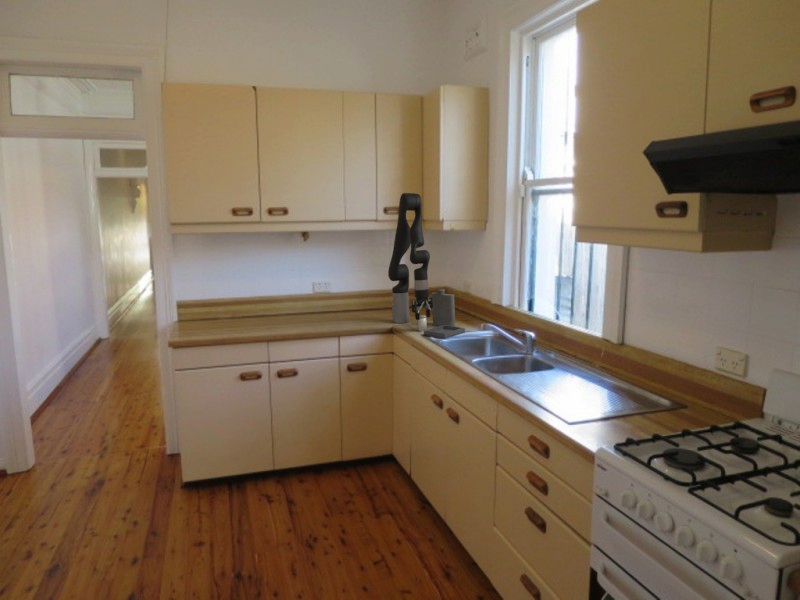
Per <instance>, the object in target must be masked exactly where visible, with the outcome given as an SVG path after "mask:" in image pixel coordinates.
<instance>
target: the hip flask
mask: <svg viewBox="0 0 800 600" xmlns="http://www.w3.org/2000/svg"><path fill="white" fill-rule="evenodd" d="M431 298H432V302H433V308H432V309H431V312H432V313H431V314H432V315H431V316H432V325H435V326H441V325H448V326H455V327H456V315H455V314H456V313H455V312H456V308H455V294H453V293H452V294H450V293H446V289H444V288H443V289H438V291H437V292H431Z"/></svg>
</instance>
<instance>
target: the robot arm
mask: <svg viewBox="0 0 800 600" xmlns="http://www.w3.org/2000/svg"><path fill="white" fill-rule="evenodd" d="M422 202H423V201H422V197H421V195H420V194H419V193H414V192H413V193H411V192H404V193H401V195H400V197H399V204H398V215H397V224H396V229H395V235H394V242H393V243H394V244H393V250H392V254H391V257H390V262H389V265H388V266H389V267H388V271H387V274H388V278H389V280H390V281H391V282H398V283H397V284H396V285H395V286H393V287H392V288H391V290H392V291H391V292H392V305H391V318H392V322H394V323H396V324H404V323H410V322H411V321H410V320H411V319H410V299H409V297H410V296H409V288H410V270H409V267H408V265H407V264H405V263H401V261H402V259H403V257H404V256H405V254H406V253H407V252H408V250H409V249H410V251H409V261H410V263H411V264H413V265H422V266H420V267H419V268H418V267H417V268H415V269H414V271H413V281H414V282H413V286H414V287H413V288H414V289H413V291H414V297H415V298H416V299H415V300H412V301H411V312H412V313H414V318H415V320H416V321H418V320H420V315H421V314H420V311H421V310H422V308H425V314H426V318H431V311H432V308H433V302H432V296H430V293H429V292H430V290H429V289H430V288H429V280H428V270H429V263H430V260H431V253H430V252H429V251H428V250H427V249H422V250H420V249H419V250H417V249H418V248H421V247H422V248H423V246H424V245H425V240H424V239H425V238H424V231H423V203H422ZM407 211H410V212H411V211H413V212H414V220H413V222H412V224H411V226H410V224H409V222H408V219H407ZM429 296H430V297H429Z"/></svg>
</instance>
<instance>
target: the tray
mask: <svg viewBox="0 0 800 600" xmlns="http://www.w3.org/2000/svg"><path fill="white" fill-rule="evenodd" d="M465 329H466V328H465V327H463V326H462V327H461V326H456V325H455V326H448V325H441V326H439V325H437V326H435V327H431V328H427V330H424V331H423V336H425V335H428V336H427V337H431V336H433V338H439V339H448V338H449V339H450V338H451V337H455V336H459V335H461V334H464V333H465V332H466V331H465Z"/></svg>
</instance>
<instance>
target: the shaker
mask: <svg viewBox="0 0 800 600" xmlns="http://www.w3.org/2000/svg"><path fill="white" fill-rule="evenodd" d="M427 323H428V321H427V317H426V315H425V314H420V320H417V328H418V329H417V330H418V332H421V333H422V332H423V333H424V330H427V329H428V324H427Z"/></svg>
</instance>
